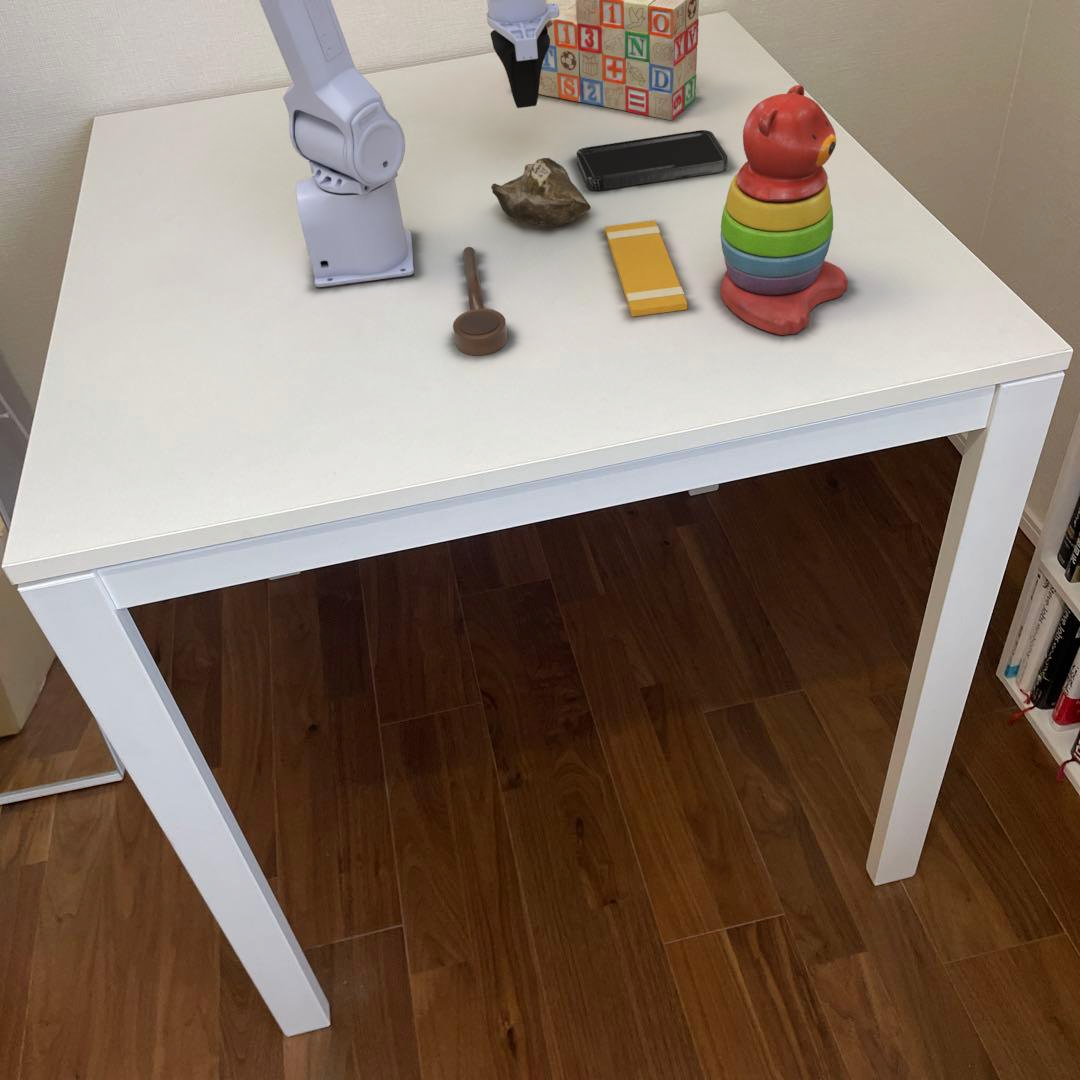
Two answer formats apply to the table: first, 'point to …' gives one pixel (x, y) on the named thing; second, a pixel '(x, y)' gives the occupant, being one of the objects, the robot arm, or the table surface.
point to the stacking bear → (781, 217)
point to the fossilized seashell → (542, 195)
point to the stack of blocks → (623, 54)
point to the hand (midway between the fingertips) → (526, 104)
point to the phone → (651, 160)
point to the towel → (645, 269)
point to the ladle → (478, 317)
